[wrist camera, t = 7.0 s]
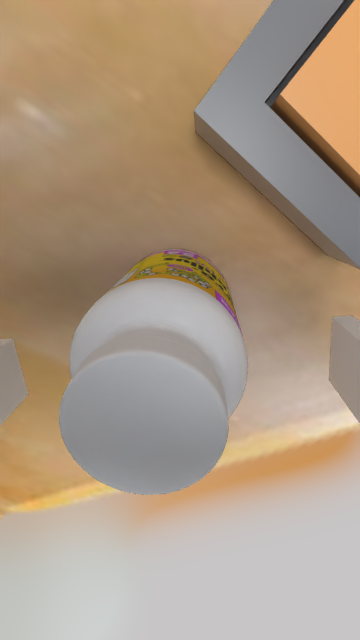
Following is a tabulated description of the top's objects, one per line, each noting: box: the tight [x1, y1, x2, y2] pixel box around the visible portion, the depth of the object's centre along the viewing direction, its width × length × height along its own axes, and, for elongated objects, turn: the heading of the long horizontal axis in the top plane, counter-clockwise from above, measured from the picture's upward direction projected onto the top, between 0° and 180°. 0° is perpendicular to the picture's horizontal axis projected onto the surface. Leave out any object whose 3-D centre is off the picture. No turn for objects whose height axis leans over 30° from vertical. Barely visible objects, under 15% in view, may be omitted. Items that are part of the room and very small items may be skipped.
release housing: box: [194, 0, 360, 269], centre depth 15 cm, size 10×10×4 cm
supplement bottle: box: [59, 249, 248, 495], centre depth 15 cm, size 7×7×13 cm
